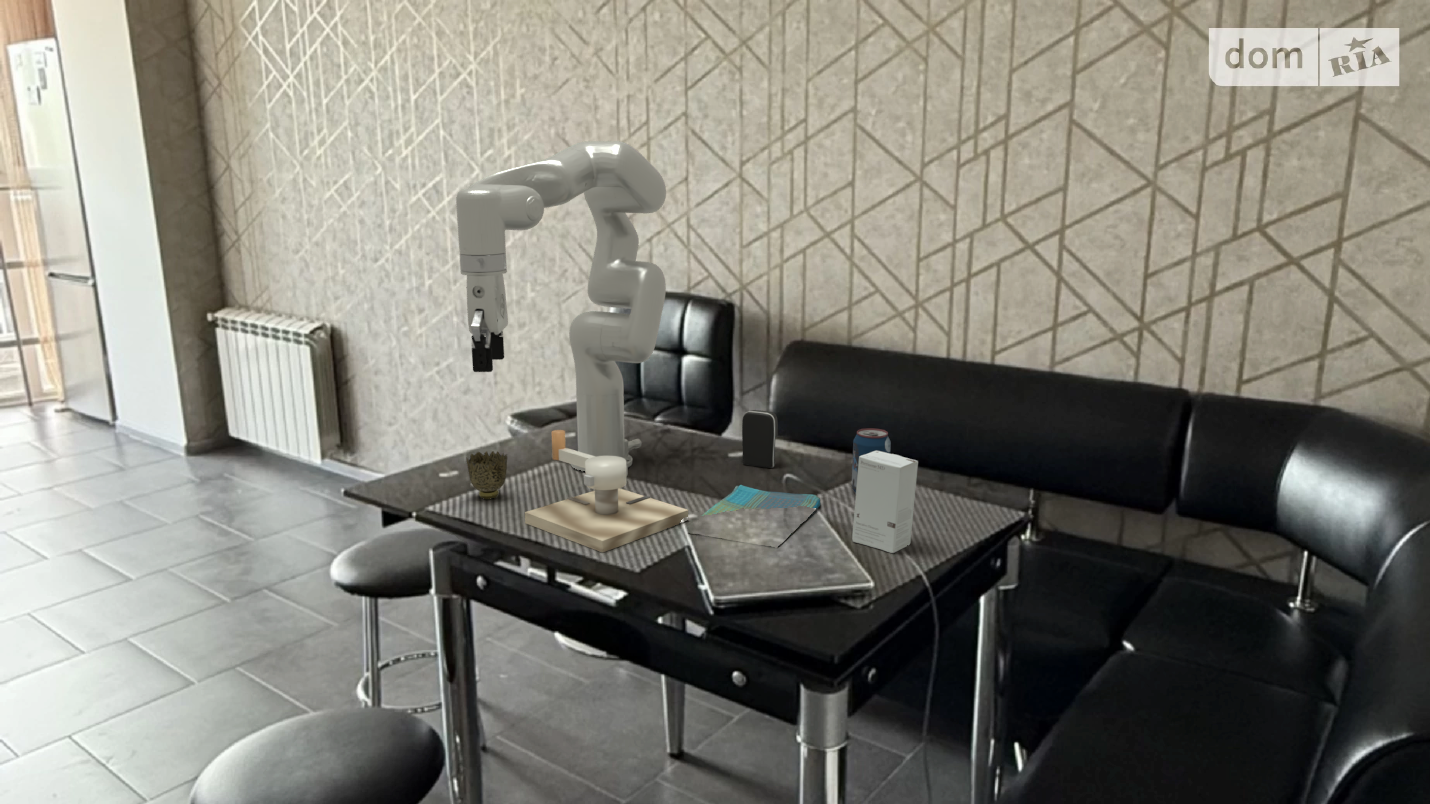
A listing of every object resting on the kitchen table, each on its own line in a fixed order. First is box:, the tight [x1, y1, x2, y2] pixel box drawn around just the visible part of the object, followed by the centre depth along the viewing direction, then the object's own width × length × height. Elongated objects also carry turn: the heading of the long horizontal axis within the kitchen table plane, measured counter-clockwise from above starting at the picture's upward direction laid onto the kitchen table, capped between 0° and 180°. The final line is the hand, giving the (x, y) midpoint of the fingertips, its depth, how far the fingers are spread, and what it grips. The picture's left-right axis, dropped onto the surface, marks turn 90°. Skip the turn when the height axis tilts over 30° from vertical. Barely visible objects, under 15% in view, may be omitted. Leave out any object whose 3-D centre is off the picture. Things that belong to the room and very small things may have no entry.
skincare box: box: [851, 451, 919, 554], centre depth 170 cm, size 8×6×15 cm
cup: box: [465, 450, 508, 500], centre depth 193 cm, size 8×7×8 cm
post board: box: [524, 488, 689, 553], centre depth 180 cm, size 20×20×7 cm
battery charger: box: [741, 409, 779, 469], centre depth 213 cm, size 7×4×11 cm, turn 66°
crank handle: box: [551, 429, 629, 490], centre depth 182 cm, size 9×17×7 cm, turn 48°
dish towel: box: [701, 484, 822, 516], centre depth 183 cm, size 17×23×2 cm
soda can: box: [851, 427, 892, 495], centre depth 195 cm, size 7×7×12 cm
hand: (489, 365), depth 177 cm, fingers open, 9 cm apart
